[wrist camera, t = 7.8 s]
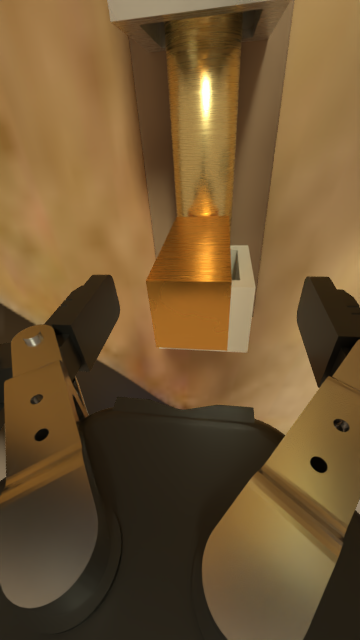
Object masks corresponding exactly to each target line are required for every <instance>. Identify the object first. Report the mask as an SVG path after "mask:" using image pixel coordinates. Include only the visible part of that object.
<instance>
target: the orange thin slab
mask: <svg viewBox="0 0 360 640" xmlns="http://www.w3.org/2000/svg"><path fill="white" fill-rule="evenodd" d="M242 22H243V11H242V12H234V13H227V14H219V15H211V16H203V17H196V18H188V19H180V20H173V21H165V22H164V28H165V43H166V58H167V73H168V88H169V104H170V119H171V134H172V149H173V164H174V179H175V194H176V209H177V217H176V219H175V221H174V223H173V225H172V227H171V229H170V231H169V233H168V236H167V238H166V240H165V242H164V244H163V246H162V248H161V250H160V253H159V255H158V257H157V259H156V261H155V263H154V265H153V267H152V269H151V272H150V274H149V276H148V278H147V280H146V284H147V291H148V297H149V303H150V310H151V316H152V323H153V329H154V335H155V342H156V347H162V348H183V349H204V350H225V351H227V347H228V331H229V316H230V300H231V285H232V278H231V252H230V240H231V222H232V204H233V186H234V168H235V149H236V131H237V113H238V95H239V77H240V59H241V40H242Z"/></svg>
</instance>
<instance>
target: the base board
mask: <svg viewBox="0 0 360 640" xmlns="http://www.w3.org/2000/svg"><path fill="white" fill-rule="evenodd" d="M293 8H294V0H291V1H290V3H289V5H288V6H287V8H286V10H285V11H284V13H283V15H282V17H281V18H280V20H279V22H278V23H277V25H276V27H275V29H274V30H273V32H272V34H271V35H270V37H269V39H265V40H256V41H248V42H241V59H240V77H239V95H238V113H237V131H236V149H235V168H234V186H233V204H232V222H231V240H230V246H235V245H248V247H249V253H250V258H251V264H252V270H253V276H254V281H255V287H256V288H255V296H254V304H253V312H252V317H253V313H254V306H255V298H256V290H257V283H258V275H259V267H260V260H261V252H262V245H263V237H264V229H265V222H266V214H267V206H268V199H269V191H270V183H271V176H272V168H273V161H274V153H275V145H276V138H277V130H278V122H279V115H280V107H281V99H282V92H283V84H284V77H285V69H286V61H287V54H288V46H289V38H290V31H291V23H292V15H293ZM129 44H130V52H131V60H132V68H133V76H134V84H135V92H136V100H137V108H138V117H139V125H140V133H141V141H142V149H143V157H144V165H145V173H146V181H147V189H148V197H149V205H150V213H151V222H152V230H153V238H154V246H155V254H156V259H157V257H158V255H159V253H160V250H161V248H162V246H163V244H164V242H165V240H166V238H167V236H168V233H169V231H170V229H171V227H172V225H173V223H174V221H175V219H176V217H177V209H176V194H175V179H174V164H173V149H172V134H171V119H170V104H169V88H168V73H167V58H166V51H160V52H151V53H149V52H148V51H147V50H145V49H144V48H143V47H142V46H140V45H139V44H138V43H137V42H135V41H134V40H133V39H132V38H130V37H129Z"/></svg>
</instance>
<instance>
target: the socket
mask: <svg viewBox="0 0 360 640" xmlns="http://www.w3.org/2000/svg"><path fill="white" fill-rule="evenodd" d="M230 252H231V278H232V285H231V300H230V316H229V331H228V347H227V351H225V350H204V349H183V348H162V347H159V348H162V349H182V350H203V351H223V352H244V353H247V351H248V343H249V335H250V328H251V320H252V312H253V304H254V296H255V288H256V287H255V281H254V276H253V270H252V264H251V258H250V253H249V247H248V245H235V246H230Z"/></svg>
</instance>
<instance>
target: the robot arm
mask: <svg viewBox="0 0 360 640" xmlns="http://www.w3.org/2000/svg"><path fill="white" fill-rule="evenodd" d="M119 314H120V305H119V301H118V297H117V293H116V289H115V285H114V281H113V278H112V276H111V275H92V276H91V277H90V278H89V279H88V281H87V282H86V283H85V284H84V286H80V287H79V288H77V289H76V290H74V291H73V292H71V294H70V295H69V296H68V297H67V298H66V300H65V301H64V302H63V303H62V304H61V306H59V308H58V309H57V310H56V311H55V312H54V313H53V315H52V316H51V317H50V318H49V319H48V320H47V322H46V323H45V324H44V325H35V326H31V327H29V328H27V329H24V330H23V331H21V332H19V333H18V334H17V335H16V336H15V337H14V338H13V340H12V342H10V343H5V344H0V430H1V428H2V426H3V425H4V424H5V447H6V448H5V449H6V450H5V451H6V477H5V478H4V479H3V480H1V481H0V640H360V514H359V513H357V511H356V510H355V509H356V507H357V504H358V502H359V500H360V308H359V304H358V303H357V302H356V300H355V299H354V297H353V296H351V295H350V294H348V293H347V292H345V291H344V290H337V289H336V287H335V286H334V284H333V282H332V281H331V279H330V278H329V277H306V279H305V282H304V285H303V289H302V294H301V298H300V302H299V306H298V310H297V324H298V327H299V330H300V333H301V336H302V339H303V343H304V346H305V349H306V352H307V355H308V358H309V361H310V364H311V367H312V370H313V373H314V376H315V379H316V382H317V386H318V388H319V389H318V391H317V392H316V394H315V395H314V396H313V398H312V399H311V401H310V402H309V403H308V405H307V406H306V407H305V409H304V410H303V412H302V413H301V414H300V416H299V417H298V419H297V420H296V421H295V423H294V424H293V426H292V427H291V428H290V430H289V431H288V433H287V434H286V435H284V434H283V433H281V432H280V431H279V430H277V429H276V428H274V427H272V426H270V425H269V424H266V423H264V422H262V421H259V420H256V419H254V410H253V408H251V407H238V406H226V405H214V406H207V407H200V408H193V409H186V410H180V409H176V408H173V407H170V406H167V405H164V404H161V403H158V402H155V401H152V400H149V399H138V398H125V397H117V400H116V402H115V405H114V407H112V408H108V409H104V410H101V411H98V412H96V413H94V414H91V415H88V412H87V409H86V406H85V403H84V400H83V397H82V393H81V390H80V387H79V384H78V381H77V379H76V377H75V376H76V374H77V372H78V371H86V372H90V371H91V369H92V367H93V365H94V363H95V361H96V360H97V358H98V356H99V354H100V352H101V350H102V348H103V346H104V344H105V342H106V341H107V339H108V337H109V335H110V333H111V331H112V329H113V327H114V325H115V324H116V322H117V320H118V318H119Z"/></svg>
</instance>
